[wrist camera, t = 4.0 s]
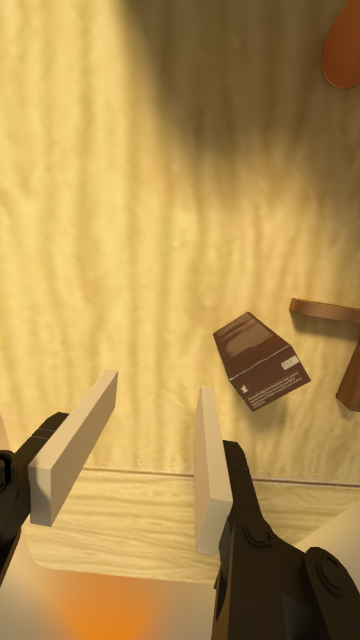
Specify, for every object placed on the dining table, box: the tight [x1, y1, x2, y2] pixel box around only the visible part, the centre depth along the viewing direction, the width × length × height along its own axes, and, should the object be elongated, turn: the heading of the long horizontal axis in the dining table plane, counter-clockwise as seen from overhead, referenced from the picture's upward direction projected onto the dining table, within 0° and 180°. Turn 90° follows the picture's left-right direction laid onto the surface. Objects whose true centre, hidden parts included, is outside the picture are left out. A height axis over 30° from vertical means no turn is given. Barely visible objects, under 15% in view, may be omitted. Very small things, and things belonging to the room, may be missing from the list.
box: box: [213, 312, 311, 412], centre depth 24 cm, size 6×4×12 cm
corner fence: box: [289, 298, 360, 412], centre depth 28 cm, size 12×14×3 cm
